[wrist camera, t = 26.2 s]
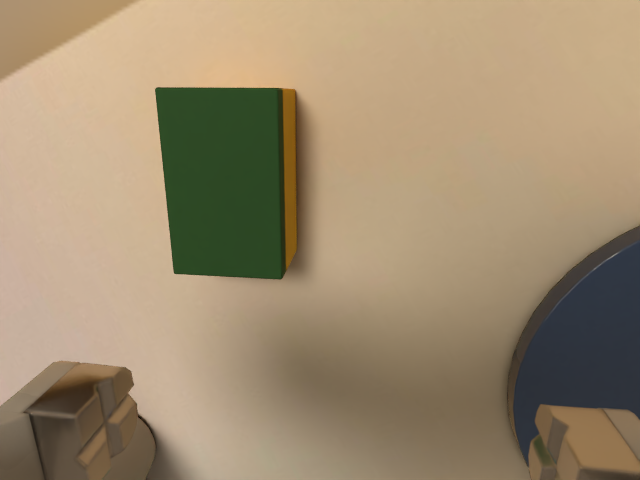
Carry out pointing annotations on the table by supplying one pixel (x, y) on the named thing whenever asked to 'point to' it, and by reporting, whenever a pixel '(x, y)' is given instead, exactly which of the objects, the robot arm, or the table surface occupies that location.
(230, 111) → the sponge
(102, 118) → the table surface
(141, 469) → the cup
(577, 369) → the plate
